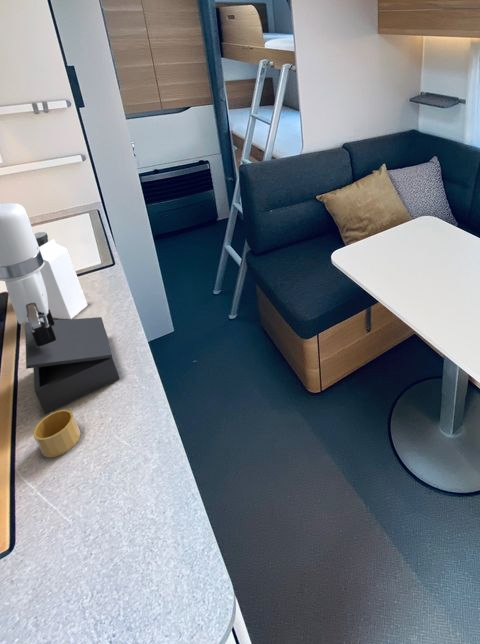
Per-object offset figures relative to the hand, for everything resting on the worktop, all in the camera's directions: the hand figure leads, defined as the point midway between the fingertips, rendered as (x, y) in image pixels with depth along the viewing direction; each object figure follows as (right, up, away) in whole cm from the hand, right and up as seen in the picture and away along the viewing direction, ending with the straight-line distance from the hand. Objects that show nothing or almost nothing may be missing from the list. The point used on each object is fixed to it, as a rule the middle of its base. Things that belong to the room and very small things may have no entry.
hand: (46, 334), depth 88 cm
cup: (+10, -18, -8) cm, 22 cm away
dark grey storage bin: (+2, -12, +7) cm, 14 cm away
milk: (-15, -4, +27) cm, 31 cm away
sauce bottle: (-24, -1, +34) cm, 42 cm away
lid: (+2, -3, +3) cm, 5 cm away
